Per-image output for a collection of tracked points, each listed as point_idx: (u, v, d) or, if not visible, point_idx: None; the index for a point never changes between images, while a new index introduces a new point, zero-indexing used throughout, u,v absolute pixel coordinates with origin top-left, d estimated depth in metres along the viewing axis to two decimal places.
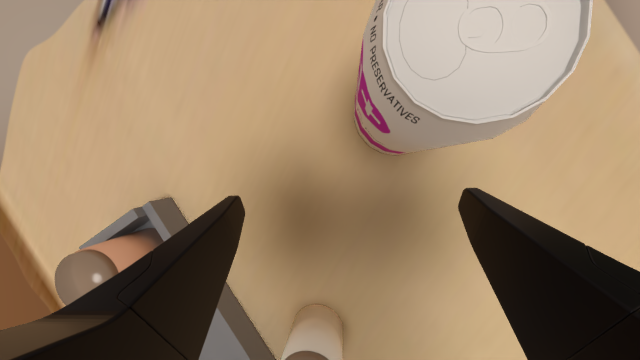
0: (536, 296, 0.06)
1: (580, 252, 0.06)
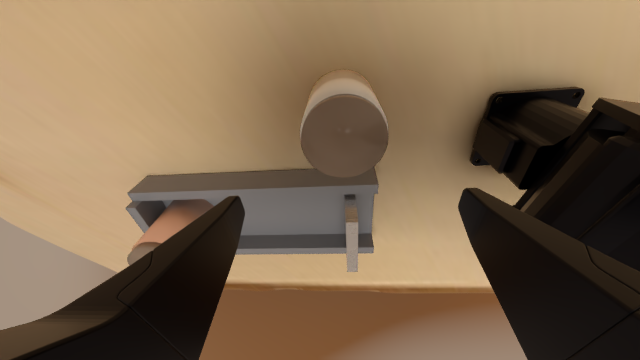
0: (536, 296, 0.06)
1: (580, 252, 0.06)
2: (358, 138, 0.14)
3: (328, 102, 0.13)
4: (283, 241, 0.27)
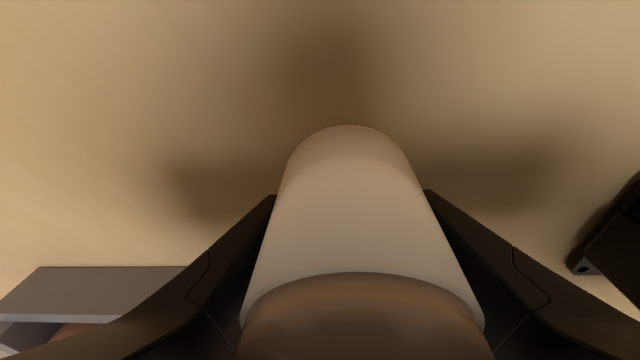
0: None
1: (504, 253, 0.06)
2: None
3: (309, 325, 0.04)
4: None
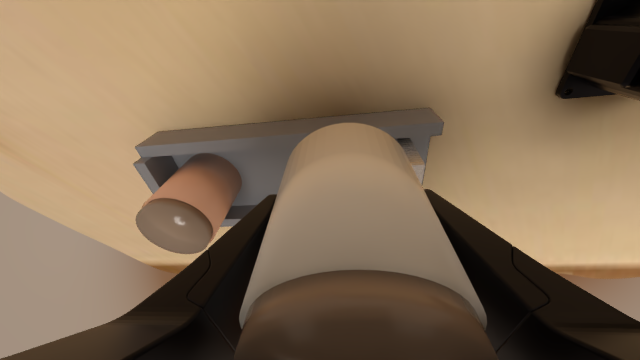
0: None
1: (504, 253, 0.06)
2: None
3: (310, 324, 0.04)
4: None
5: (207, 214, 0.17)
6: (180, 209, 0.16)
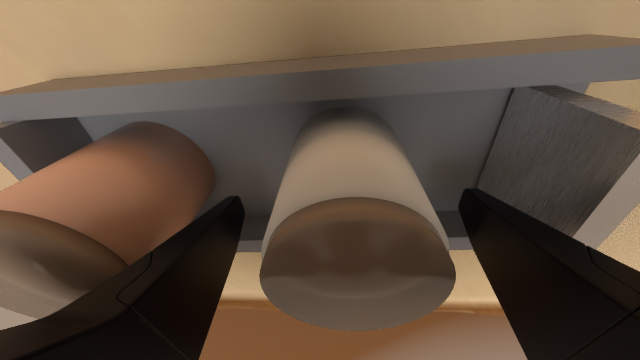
0: (536, 296, 0.06)
1: (580, 252, 0.06)
2: (386, 284, 0.06)
3: (318, 227, 0.05)
4: None
5: (118, 248, 0.07)
6: (28, 242, 0.06)
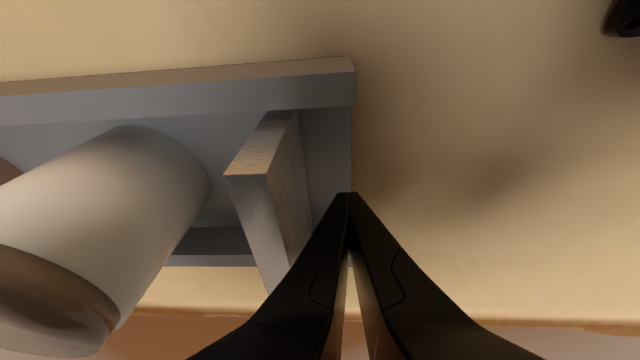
0: (364, 295, 0.06)
1: (389, 254, 0.06)
2: (18, 319, 0.06)
3: None
4: None
5: None
6: None
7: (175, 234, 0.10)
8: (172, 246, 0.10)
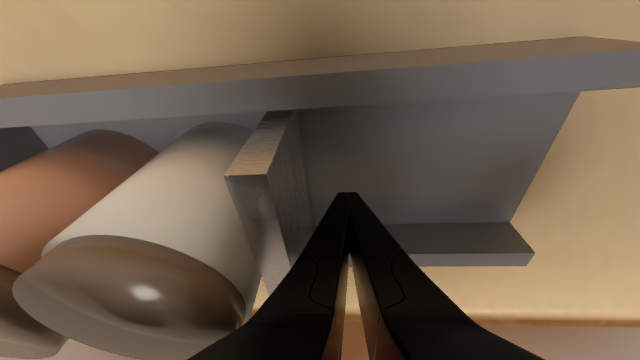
0: (364, 295, 0.06)
1: (388, 254, 0.06)
2: (163, 324, 0.06)
3: (34, 272, 0.05)
4: None
5: None
6: None
7: None
8: None
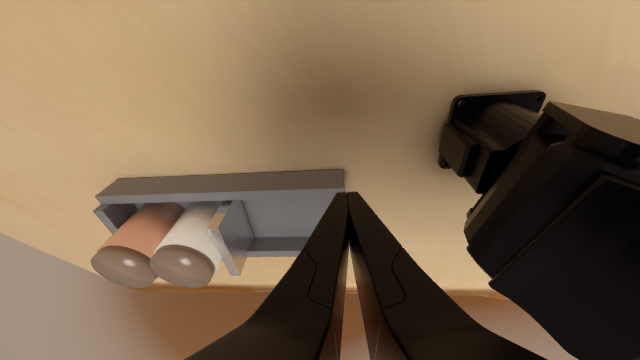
0: (365, 295, 0.06)
1: (390, 254, 0.06)
2: (189, 270, 0.20)
3: (159, 253, 0.19)
4: (257, 244, 0.27)
5: None
6: (127, 256, 0.20)
7: None
8: None
